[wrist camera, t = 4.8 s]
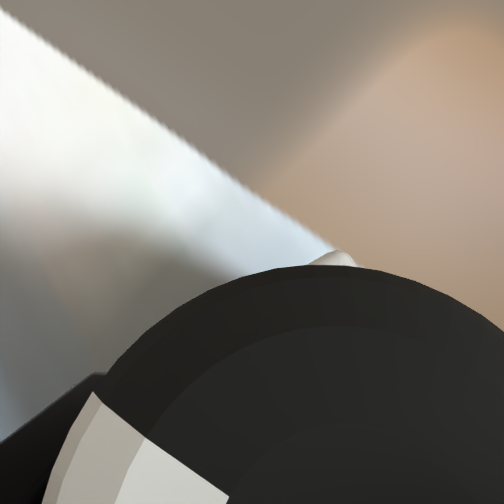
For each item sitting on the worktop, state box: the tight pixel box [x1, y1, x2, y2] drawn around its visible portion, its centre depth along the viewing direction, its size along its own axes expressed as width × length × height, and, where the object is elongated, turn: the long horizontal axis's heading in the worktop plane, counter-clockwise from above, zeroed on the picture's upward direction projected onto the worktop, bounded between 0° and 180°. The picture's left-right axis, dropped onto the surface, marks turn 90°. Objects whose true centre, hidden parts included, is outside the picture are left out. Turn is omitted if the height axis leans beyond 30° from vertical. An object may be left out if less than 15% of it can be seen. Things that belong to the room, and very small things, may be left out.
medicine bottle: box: [42, 250, 504, 504], centre depth 10 cm, size 7×7×12 cm
